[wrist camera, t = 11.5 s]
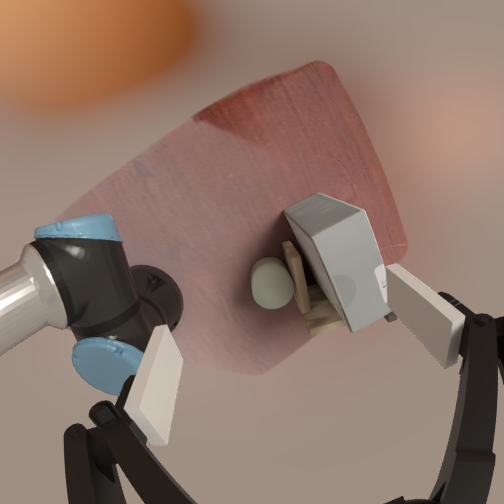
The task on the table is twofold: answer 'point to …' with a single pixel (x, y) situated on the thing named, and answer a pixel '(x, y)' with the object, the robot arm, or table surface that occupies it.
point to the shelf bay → (313, 297)
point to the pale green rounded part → (271, 283)
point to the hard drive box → (342, 257)
